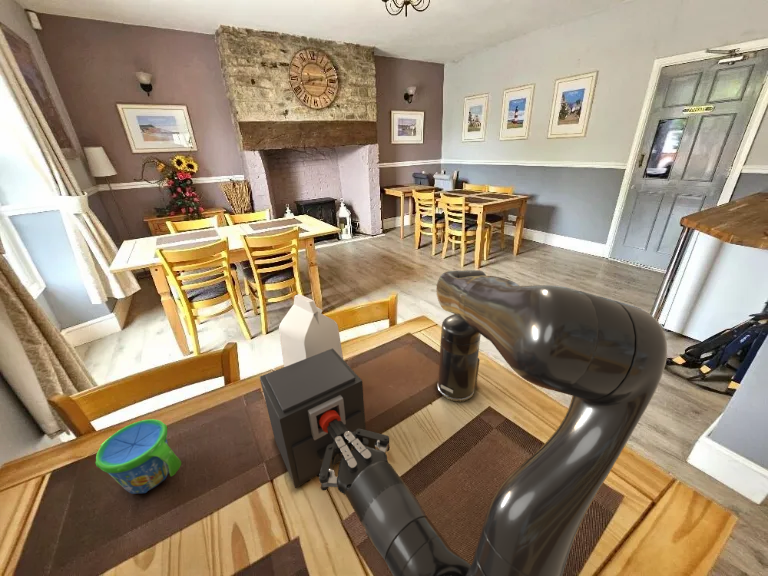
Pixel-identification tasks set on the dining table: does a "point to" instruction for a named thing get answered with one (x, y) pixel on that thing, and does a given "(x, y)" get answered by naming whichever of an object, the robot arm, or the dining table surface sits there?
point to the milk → (307, 332)
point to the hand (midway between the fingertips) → (332, 424)
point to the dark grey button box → (311, 409)
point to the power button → (328, 419)
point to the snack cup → (138, 456)
